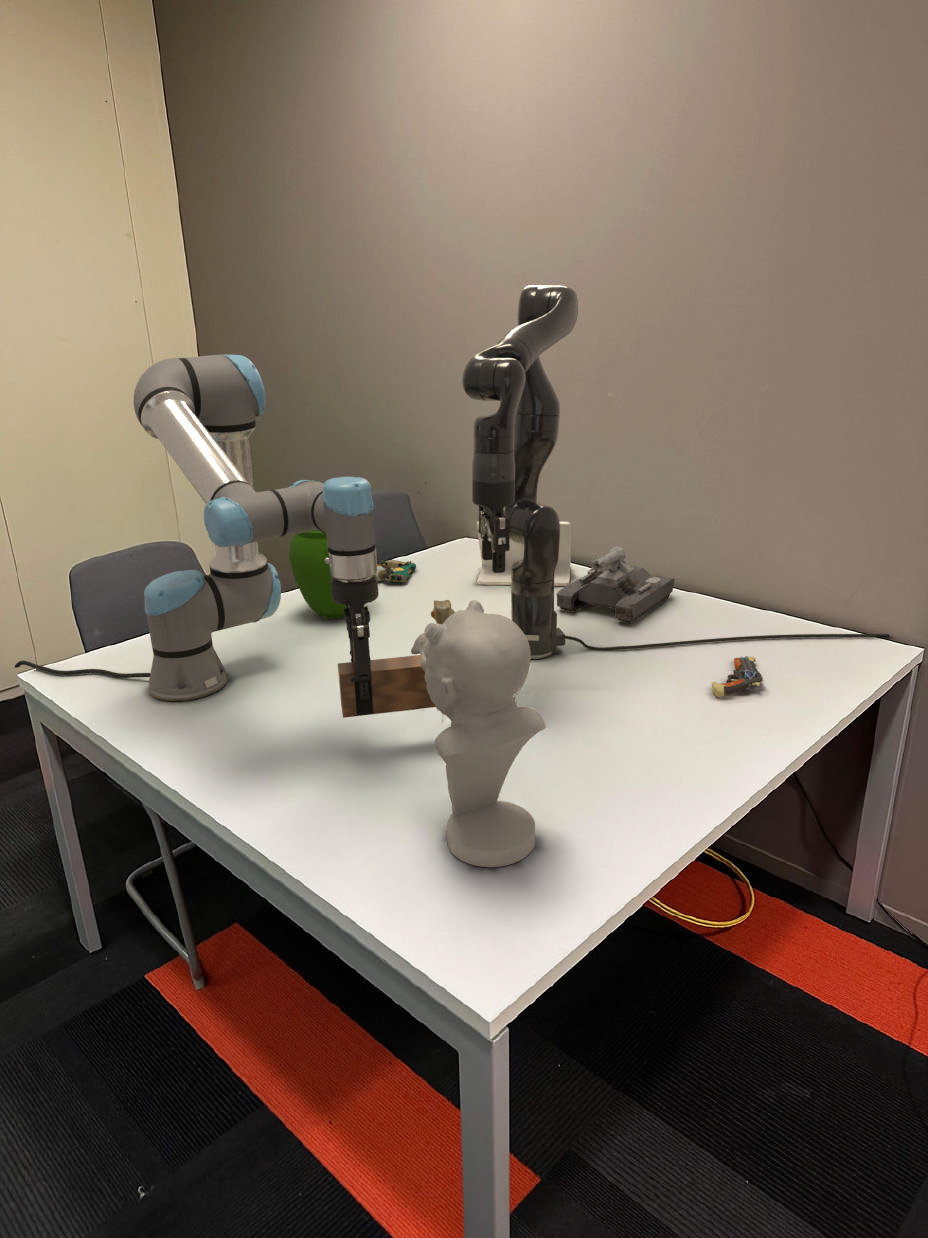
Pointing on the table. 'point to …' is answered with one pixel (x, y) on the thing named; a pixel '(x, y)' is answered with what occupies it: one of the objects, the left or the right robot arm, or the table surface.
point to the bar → (387, 686)
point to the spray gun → (394, 570)
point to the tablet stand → (518, 553)
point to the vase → (314, 573)
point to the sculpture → (441, 611)
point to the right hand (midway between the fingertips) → (493, 565)
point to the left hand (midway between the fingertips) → (363, 706)
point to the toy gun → (739, 677)
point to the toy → (616, 588)
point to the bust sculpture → (481, 729)
